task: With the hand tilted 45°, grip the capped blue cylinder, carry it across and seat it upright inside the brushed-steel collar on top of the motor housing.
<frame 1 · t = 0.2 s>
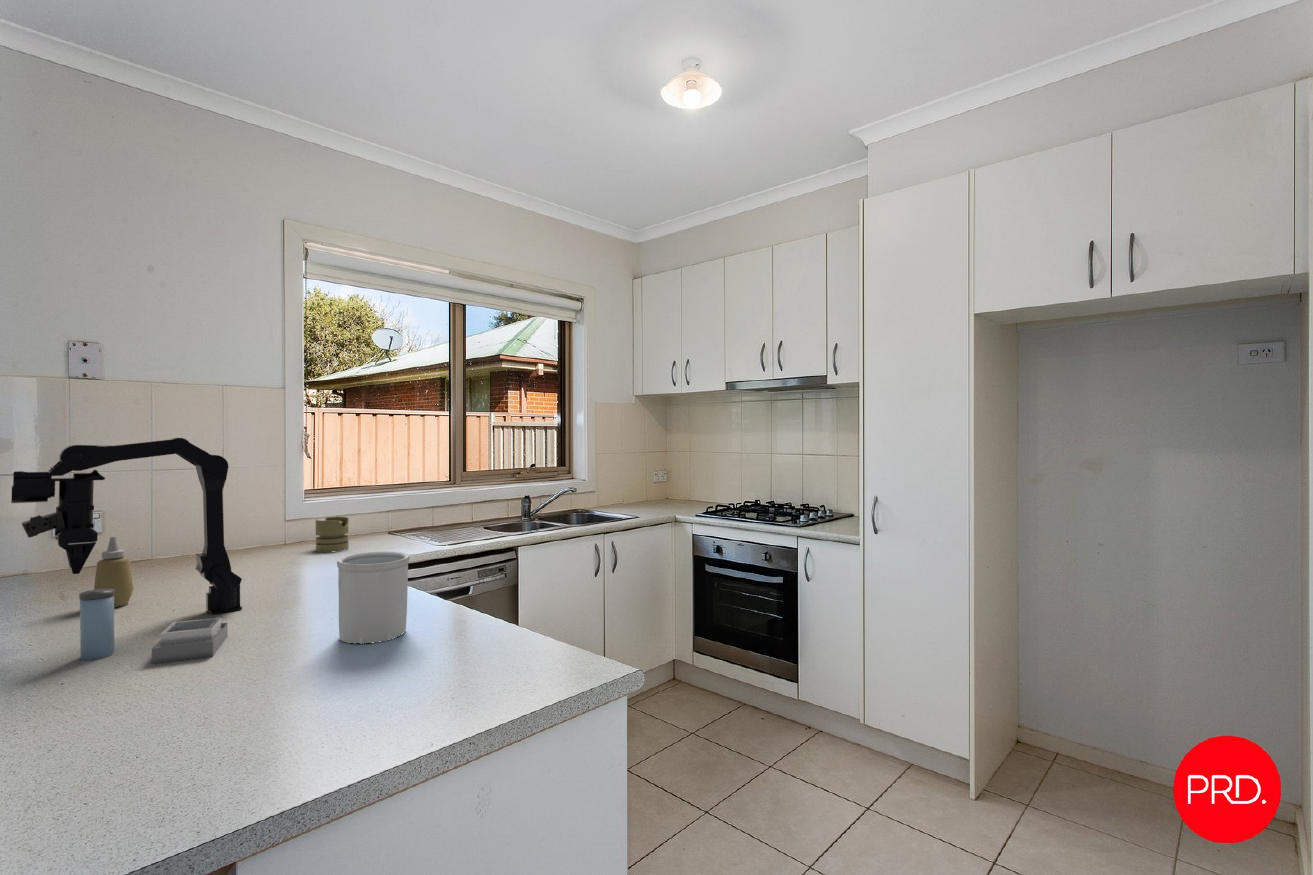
hand: (74, 570, 141), 14 cm above the countertop, tool pointing down, fingers open, 9 cm apart
utensil holder: (374, 635, 141), on the countertop
squeeze bottle: (113, 606, 165), on the countertop
capped blue cylinder: (97, 655, 128), on the countertop
motor housing: (192, 649, 132), on the countertop
piston: (332, 550, 244), on the countertop
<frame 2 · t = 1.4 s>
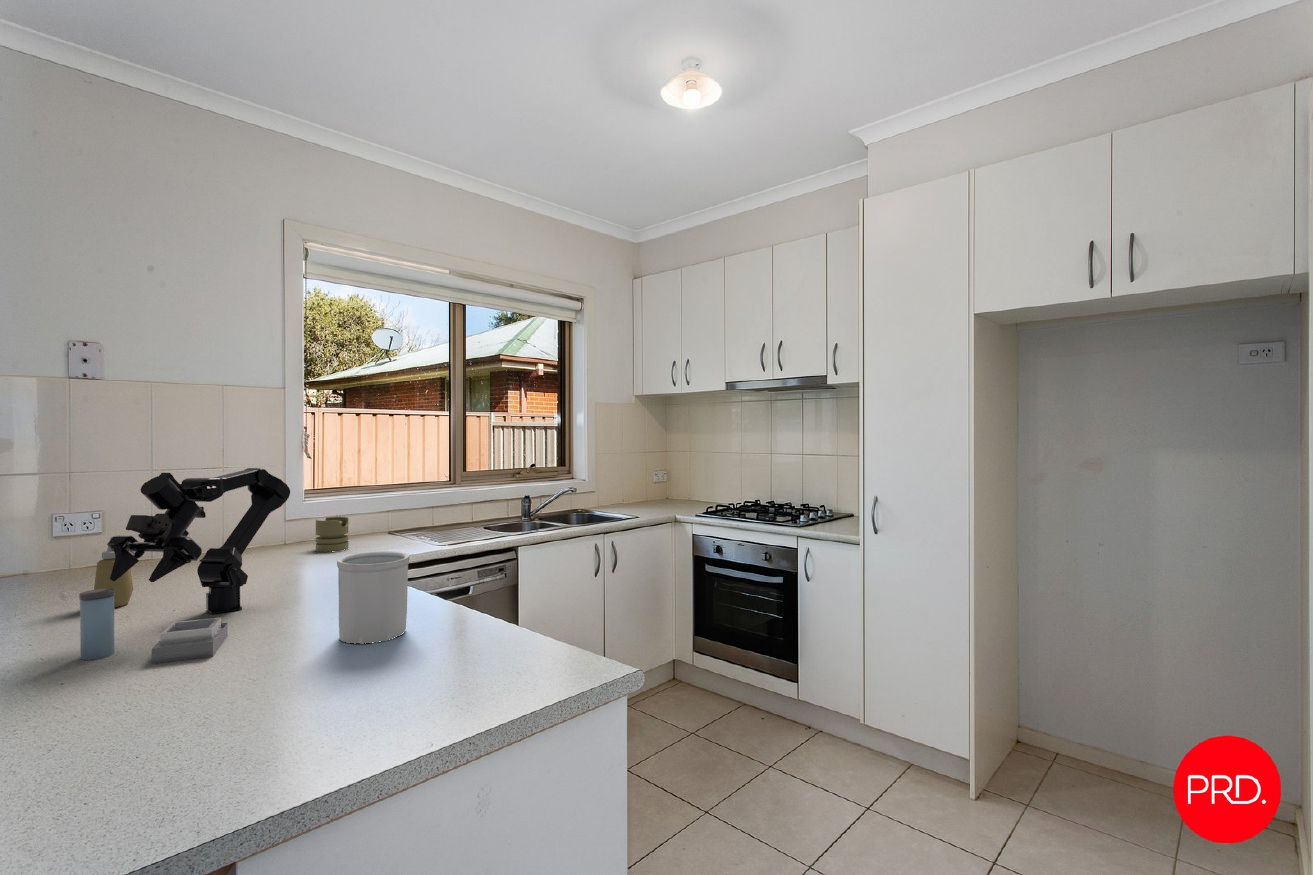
hand: (131, 580, 136), 13 cm above the countertop, tool tilted 45°, fingers open, 9 cm apart
nothing on the countertop moved.
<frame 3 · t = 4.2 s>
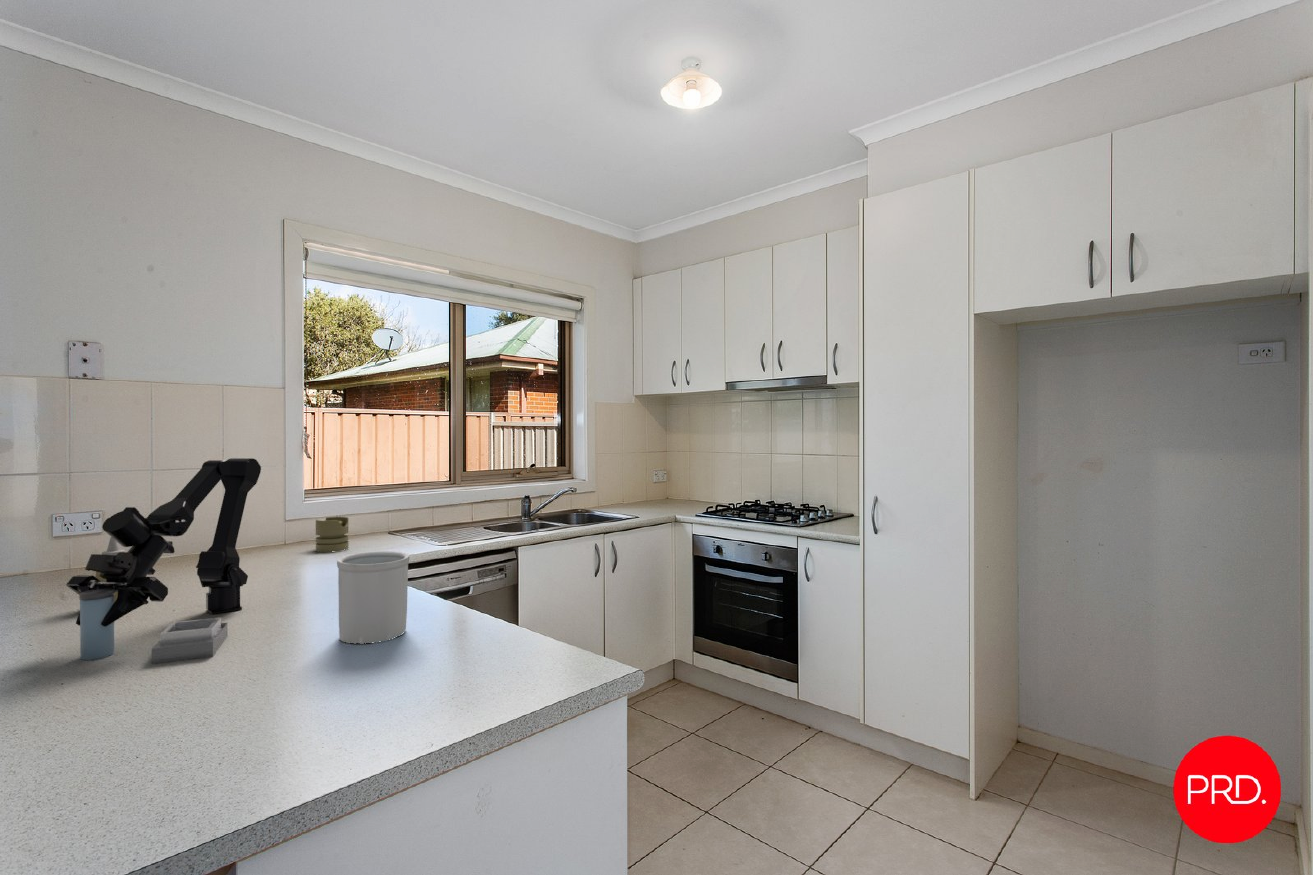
hand: (90, 625, 127), 7 cm above the countertop, tool tilted 45°, fingers closed on capped blue cylinder, 5 cm apart
capped blue cylinder: (97, 655, 128), on the countertop, touching gripper
everything else where it was.
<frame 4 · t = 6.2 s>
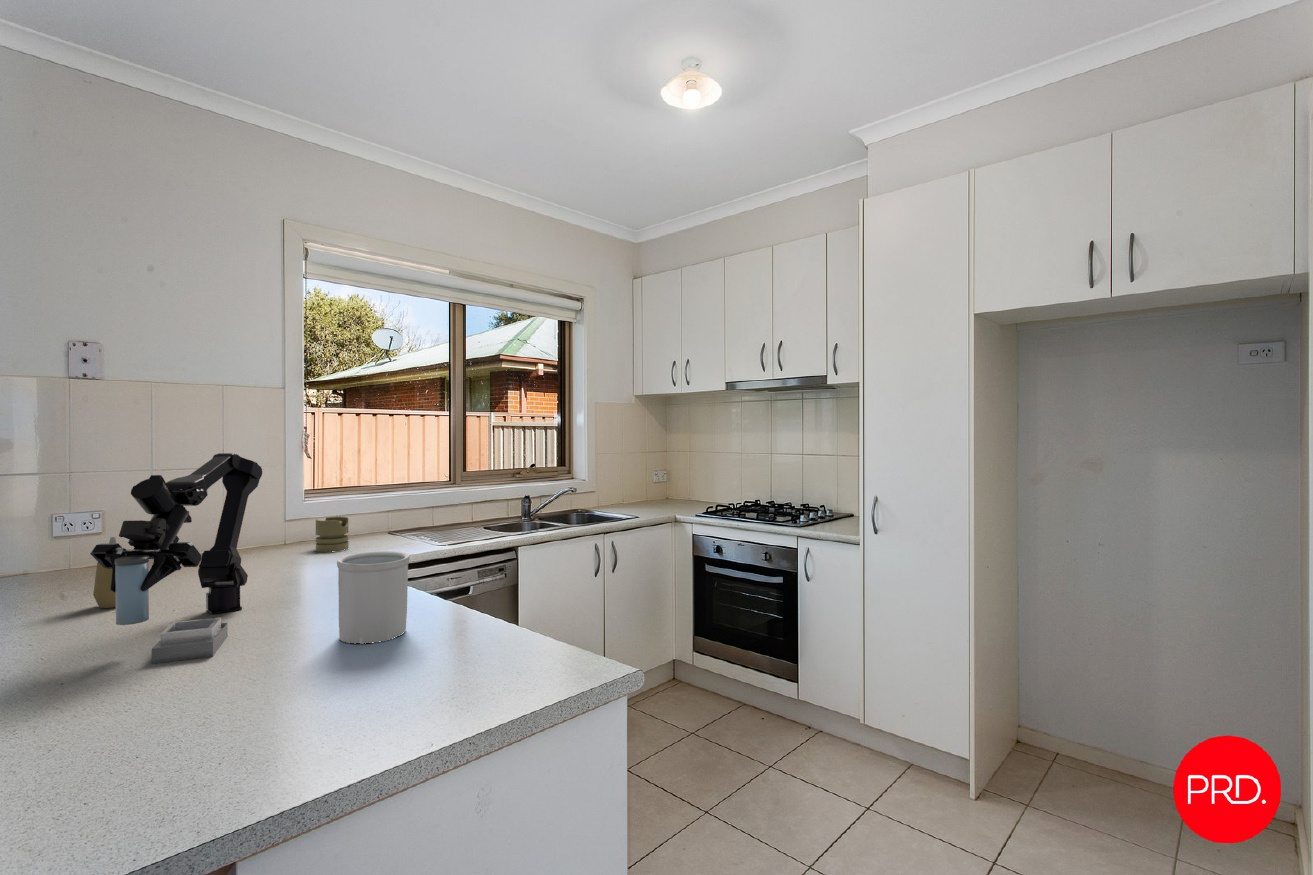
hand: (127, 590, 127), 13 cm above the countertop, tool tilted 45°, fingers closed on capped blue cylinder, 5 cm apart
capped blue cylinder: (132, 621, 129), point 7 cm above the countertop, touching gripper
everything else where it was.
when the fingers open (10 cm above the countertop, at t = 8.2 s): capped blue cylinder stays where it is, resting on motor housing.
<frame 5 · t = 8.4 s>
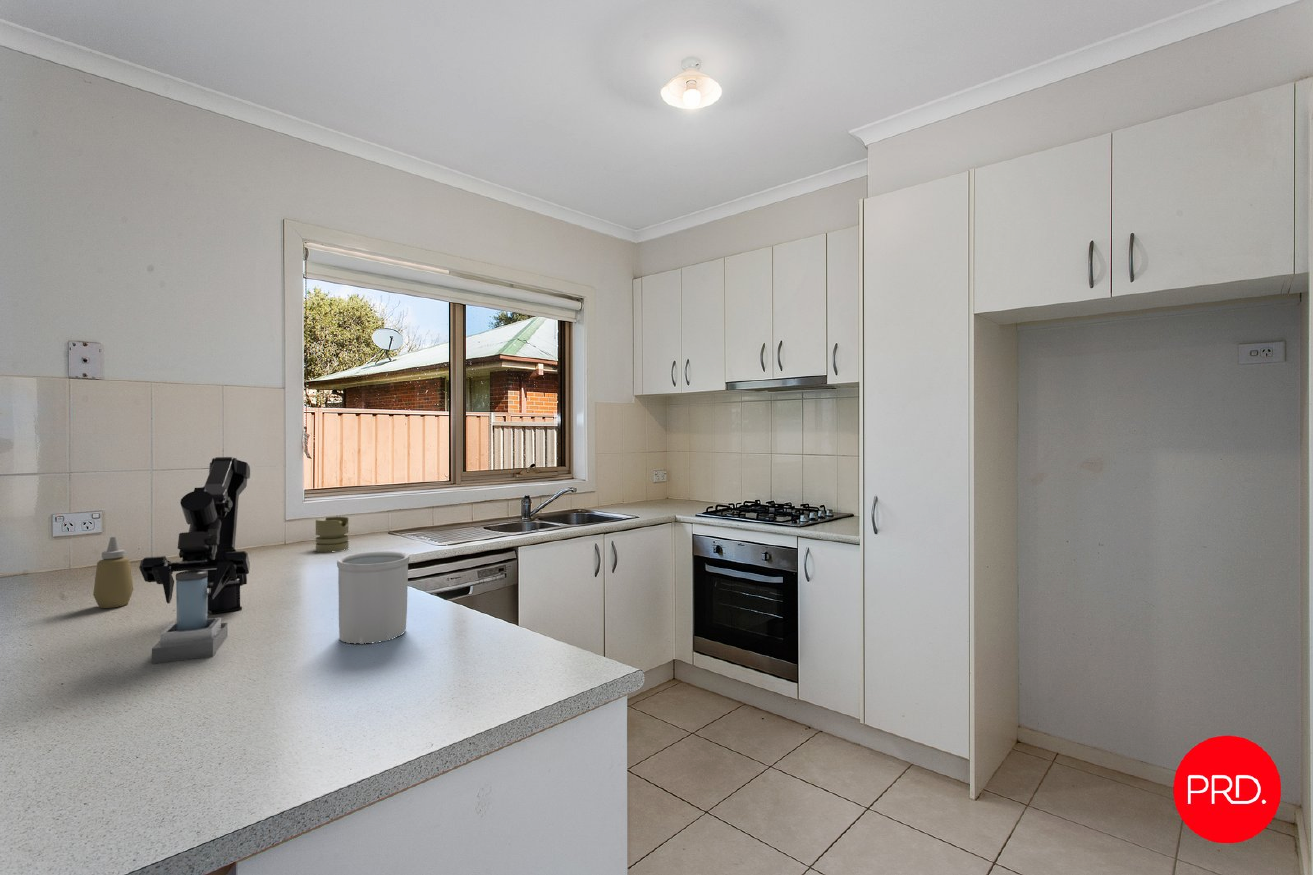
hand: (190, 600, 131), 11 cm above the countertop, tool tilted 45°, fingers open, 7 cm apart
capped blue cylinder: (192, 634, 132), point 3 cm above the countertop, touching motor housing
everything else where it was.
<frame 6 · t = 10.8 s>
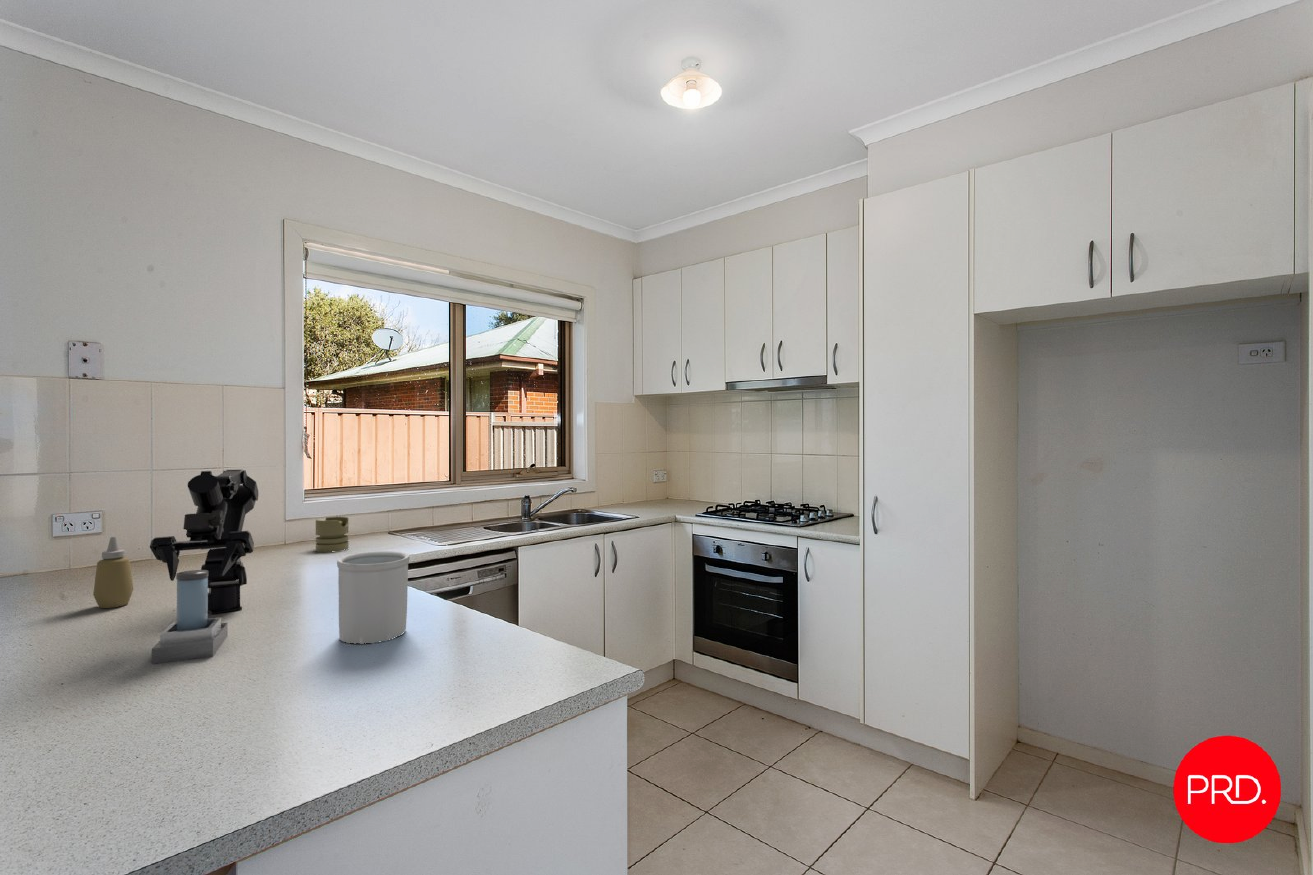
hand: (196, 577, 139), 13 cm above the countertop, tool tilted 45°, fingers open, 9 cm apart
nothing on the countertop moved.
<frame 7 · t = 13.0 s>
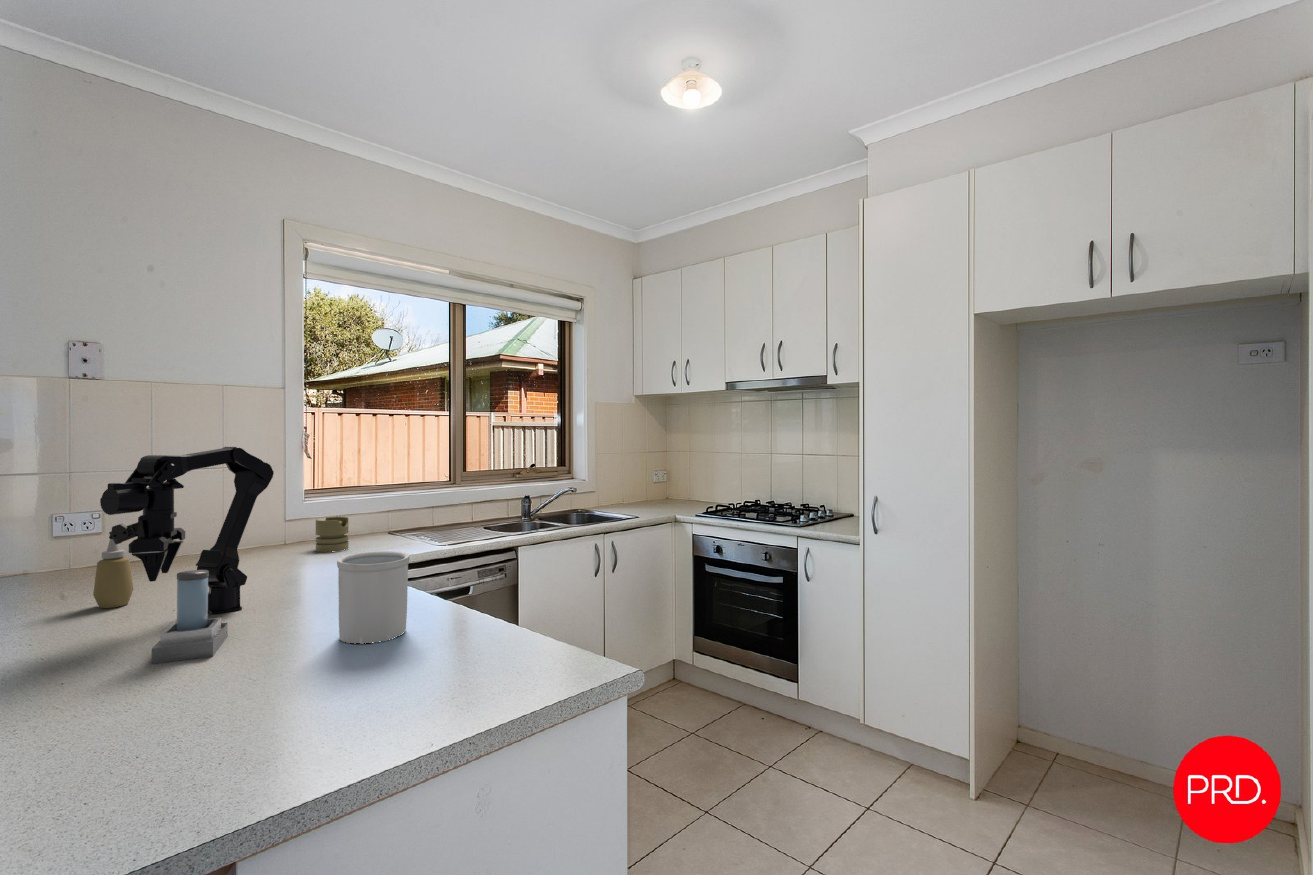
hand: (159, 577, 145), 12 cm above the countertop, tool pointing down, fingers open, 9 cm apart
nothing on the countertop moved.
at the end: capped blue cylinder 0.0 cm off-centre on the motor housing, point 3.0 cm above the motor housing's base; capped blue cylinder tilted 1°; the gripper is holding nothing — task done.
